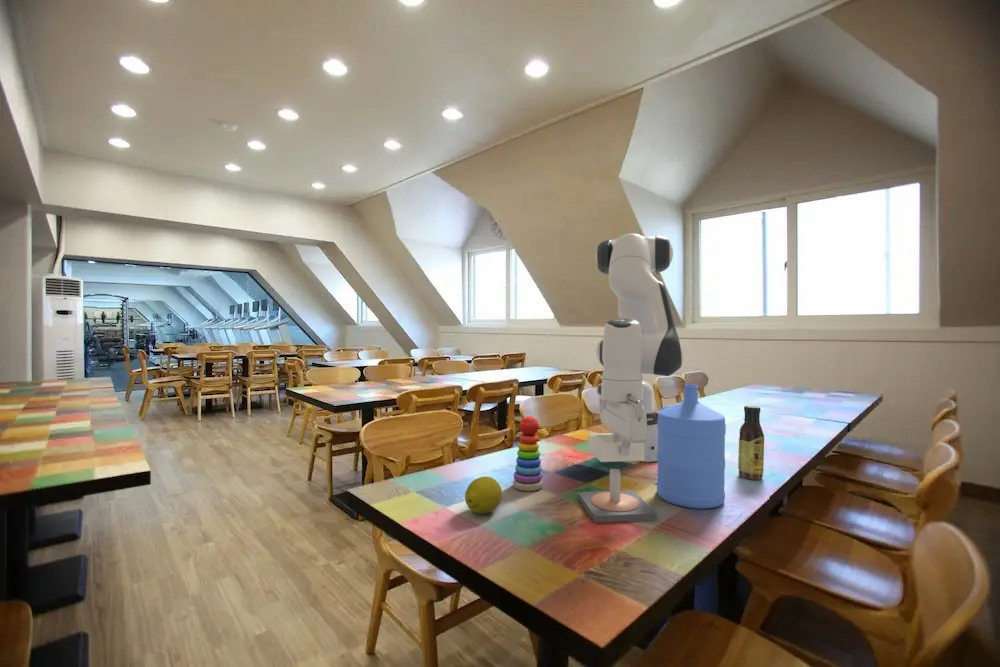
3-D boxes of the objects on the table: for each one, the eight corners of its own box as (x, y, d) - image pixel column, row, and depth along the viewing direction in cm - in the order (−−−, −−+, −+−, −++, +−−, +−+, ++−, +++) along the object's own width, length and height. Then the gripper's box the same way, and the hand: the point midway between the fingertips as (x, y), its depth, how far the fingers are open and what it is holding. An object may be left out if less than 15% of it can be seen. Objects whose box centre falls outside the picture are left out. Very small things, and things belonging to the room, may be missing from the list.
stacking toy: (541, 493, 119) (541, 420, 118) (510, 491, 120) (510, 419, 120) (544, 482, 126) (544, 414, 126) (515, 480, 128) (515, 413, 127)
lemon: (486, 501, 114) (485, 468, 114) (510, 509, 109) (510, 475, 108) (453, 515, 106) (453, 480, 105) (478, 525, 100) (478, 488, 100)
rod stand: (632, 495, 117) (632, 460, 117) (656, 519, 103) (656, 479, 103) (577, 498, 116) (577, 462, 115) (594, 522, 102) (594, 482, 101)
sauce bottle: (758, 482, 126) (759, 409, 126) (734, 476, 131) (735, 406, 130) (767, 477, 130) (768, 406, 130) (743, 471, 135) (744, 403, 135)
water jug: (712, 516, 105) (713, 392, 104) (646, 498, 115) (646, 385, 115) (733, 496, 116) (735, 385, 115) (671, 481, 127) (672, 379, 126)
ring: (627, 448, 114) (627, 432, 114) (644, 460, 104) (644, 442, 104) (588, 450, 113) (588, 433, 113) (601, 462, 103) (601, 444, 103)
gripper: (655, 398, 94) (655, 466, 94) (619, 384, 114) (619, 440, 115) (625, 399, 93) (625, 467, 94) (594, 385, 114) (594, 441, 114)
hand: (621, 452), depth 104 cm, fingers closed on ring
